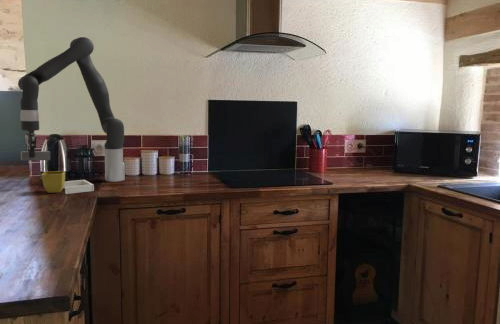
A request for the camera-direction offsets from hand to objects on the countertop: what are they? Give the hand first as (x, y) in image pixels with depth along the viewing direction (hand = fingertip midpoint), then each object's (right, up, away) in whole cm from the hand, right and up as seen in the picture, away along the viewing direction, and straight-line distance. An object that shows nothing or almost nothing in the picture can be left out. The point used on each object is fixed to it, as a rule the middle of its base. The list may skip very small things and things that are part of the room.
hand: (31, 156), depth 191 cm
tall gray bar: (+1, -1, +1) cm, 2 cm away
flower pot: (+12, -16, -3) cm, 21 cm away
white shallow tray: (+19, -16, +3) cm, 25 cm away
